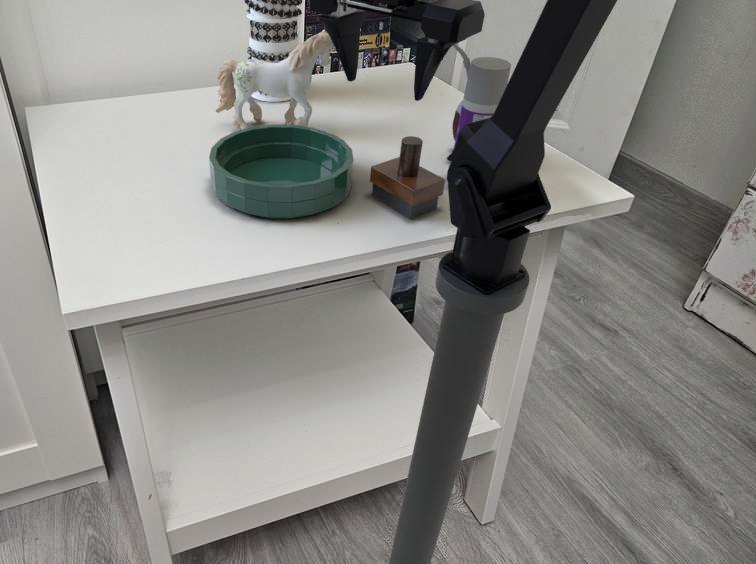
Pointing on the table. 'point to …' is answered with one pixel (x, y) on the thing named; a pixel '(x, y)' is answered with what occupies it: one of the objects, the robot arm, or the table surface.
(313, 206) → the wash bowl
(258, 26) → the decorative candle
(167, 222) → the table surface
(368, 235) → the table surface
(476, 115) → the container
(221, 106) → the unicorn figurine
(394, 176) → the scrub brush
